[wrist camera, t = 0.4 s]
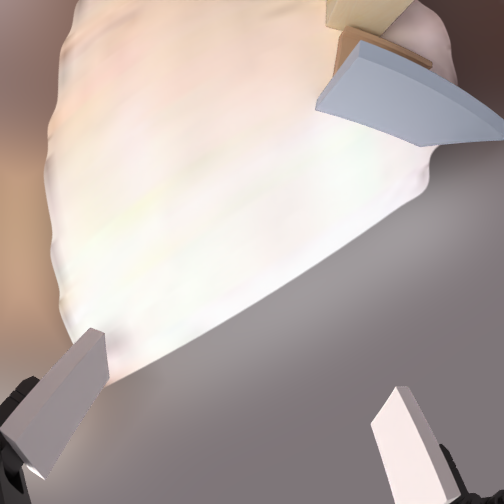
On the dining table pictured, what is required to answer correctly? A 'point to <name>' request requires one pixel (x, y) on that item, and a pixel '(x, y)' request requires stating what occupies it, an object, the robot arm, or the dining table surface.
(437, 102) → the board
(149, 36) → the dining table surface
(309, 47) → the dining table surface
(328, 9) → the toy refrigerator
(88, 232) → the dining table surface
